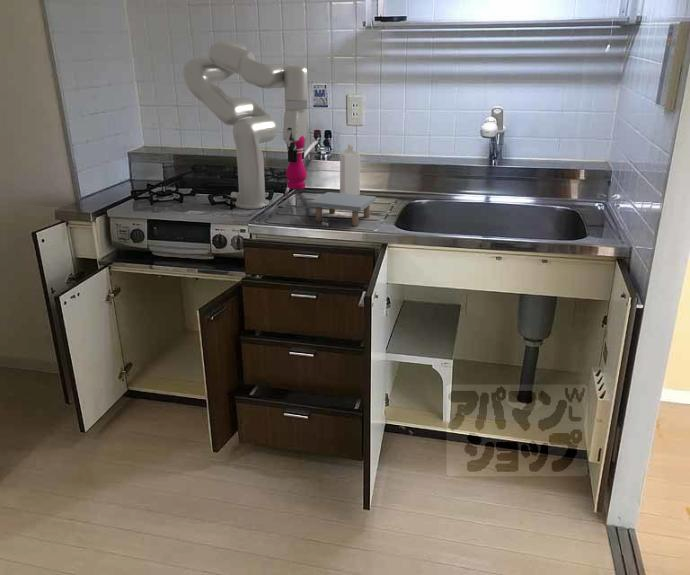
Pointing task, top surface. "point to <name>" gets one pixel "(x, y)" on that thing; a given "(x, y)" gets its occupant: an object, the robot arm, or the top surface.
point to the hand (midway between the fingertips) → (296, 160)
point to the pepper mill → (297, 168)
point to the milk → (349, 171)
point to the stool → (343, 204)
